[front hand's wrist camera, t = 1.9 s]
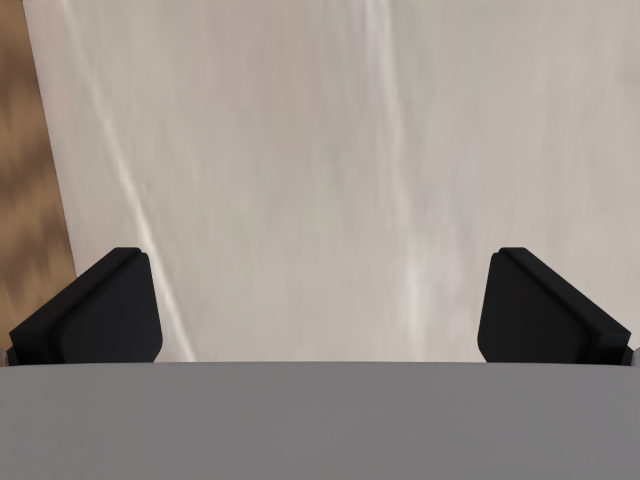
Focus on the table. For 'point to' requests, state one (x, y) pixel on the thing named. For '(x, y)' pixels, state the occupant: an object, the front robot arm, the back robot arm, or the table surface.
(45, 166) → the bar
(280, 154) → the table surface
